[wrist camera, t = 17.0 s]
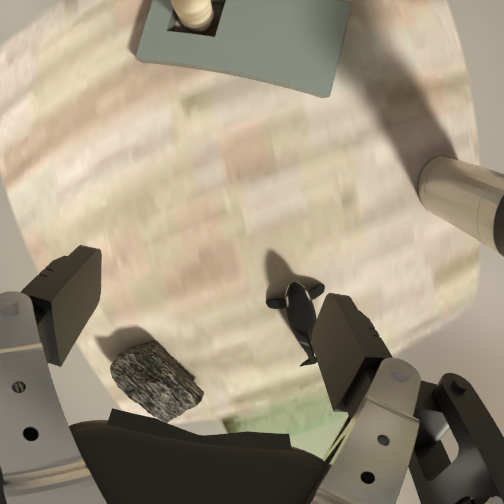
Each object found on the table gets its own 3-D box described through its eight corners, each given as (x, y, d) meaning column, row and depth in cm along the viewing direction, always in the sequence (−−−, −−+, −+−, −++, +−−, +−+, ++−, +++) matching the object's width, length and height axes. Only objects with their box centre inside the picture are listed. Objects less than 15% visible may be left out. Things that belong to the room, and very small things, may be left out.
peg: (218, 9, 32) (215, -17, 24) (210, 37, 33) (205, 16, 25) (186, 5, 31) (175, -21, 23) (178, 33, 33) (164, 12, 25)
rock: (208, 409, 49) (209, 385, 55) (144, 352, 44) (152, 328, 50) (159, 428, 51) (163, 405, 57) (97, 377, 46) (107, 354, 52)
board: (343, 10, 32) (351, 3, 29) (323, 98, 37) (329, 96, 35) (169, -26, 29) (165, -35, 26) (141, 62, 34) (135, 58, 31)
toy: (254, 276, 45) (265, 330, 37) (321, 256, 45) (344, 306, 37) (283, 356, 58) (293, 401, 50) (333, 341, 57) (349, 385, 49)
